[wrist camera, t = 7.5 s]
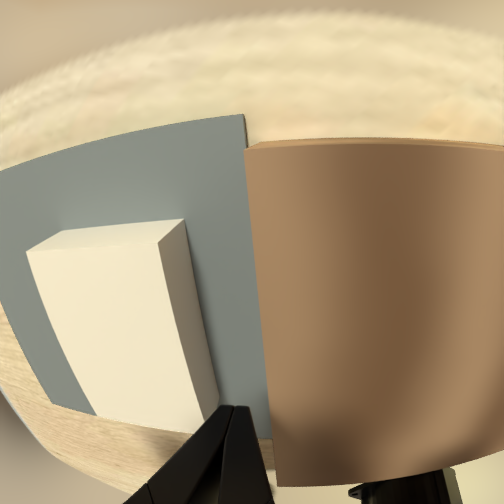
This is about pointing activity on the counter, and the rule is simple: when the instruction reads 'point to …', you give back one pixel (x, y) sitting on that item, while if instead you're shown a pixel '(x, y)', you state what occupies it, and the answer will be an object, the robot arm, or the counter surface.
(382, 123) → the counter surface
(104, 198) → the mat
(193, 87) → the counter surface
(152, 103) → the counter surface
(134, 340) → the tile
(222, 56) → the counter surface
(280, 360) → the block
